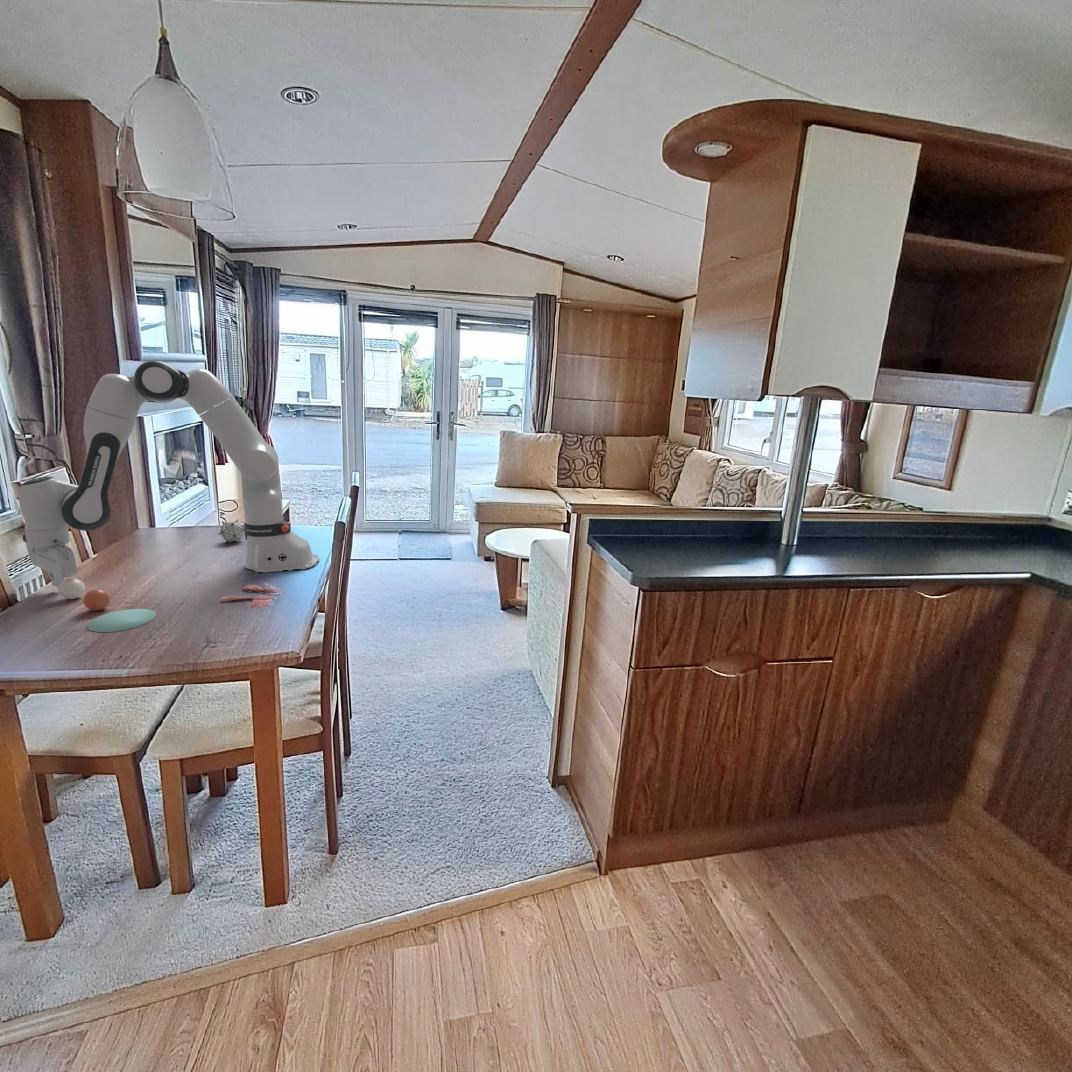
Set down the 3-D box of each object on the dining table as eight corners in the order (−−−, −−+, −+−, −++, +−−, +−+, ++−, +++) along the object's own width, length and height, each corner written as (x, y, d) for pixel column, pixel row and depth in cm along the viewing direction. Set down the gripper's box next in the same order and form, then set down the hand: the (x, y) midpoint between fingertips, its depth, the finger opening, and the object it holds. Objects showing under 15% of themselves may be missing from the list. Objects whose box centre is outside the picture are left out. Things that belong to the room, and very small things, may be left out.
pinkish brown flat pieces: (263, 614, 149) (262, 606, 148) (189, 606, 153) (188, 598, 152) (307, 588, 168) (307, 580, 168) (241, 582, 172) (240, 574, 172)
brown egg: (116, 605, 150) (113, 585, 149) (104, 613, 145) (101, 593, 144) (93, 606, 149) (89, 586, 148) (80, 614, 144) (76, 593, 143)
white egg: (91, 594, 157) (87, 575, 156) (79, 601, 152) (75, 582, 151) (69, 595, 156) (65, 576, 155) (56, 602, 151) (51, 582, 150)
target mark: (166, 608, 149) (166, 607, 149) (139, 631, 136) (138, 630, 136) (106, 610, 147) (106, 609, 147) (73, 633, 134) (73, 632, 134)
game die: (237, 552, 210) (239, 535, 204) (213, 545, 208) (214, 527, 202) (248, 535, 217) (250, 518, 210) (224, 528, 215) (225, 510, 208)
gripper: (79, 541, 152) (89, 590, 156) (47, 529, 162) (56, 576, 166) (50, 546, 147) (61, 597, 151) (18, 534, 157) (29, 581, 161)
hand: (58, 586), depth 158 cm, fingers closed
